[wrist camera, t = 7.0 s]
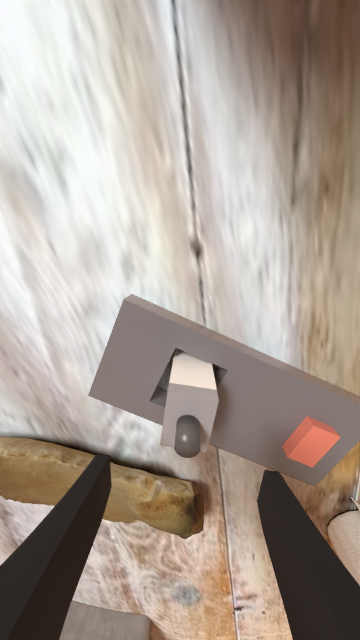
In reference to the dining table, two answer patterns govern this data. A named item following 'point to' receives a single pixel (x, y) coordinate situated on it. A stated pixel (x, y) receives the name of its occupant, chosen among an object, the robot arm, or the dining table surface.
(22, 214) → the dining table surface
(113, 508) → the stone tool
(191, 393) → the plug
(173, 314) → the power strip
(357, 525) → the paper towel roll
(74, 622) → the hip flask
